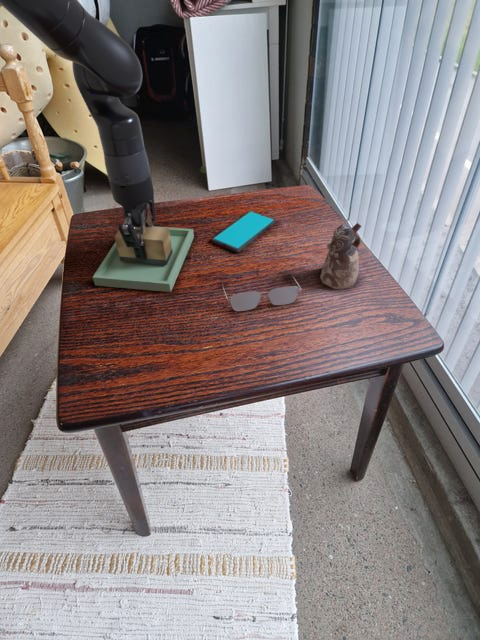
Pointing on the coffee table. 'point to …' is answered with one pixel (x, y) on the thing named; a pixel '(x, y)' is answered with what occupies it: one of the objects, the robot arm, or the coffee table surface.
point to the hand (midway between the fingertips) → (145, 251)
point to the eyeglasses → (252, 298)
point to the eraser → (148, 246)
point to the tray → (145, 267)
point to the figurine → (342, 258)
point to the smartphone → (243, 231)
